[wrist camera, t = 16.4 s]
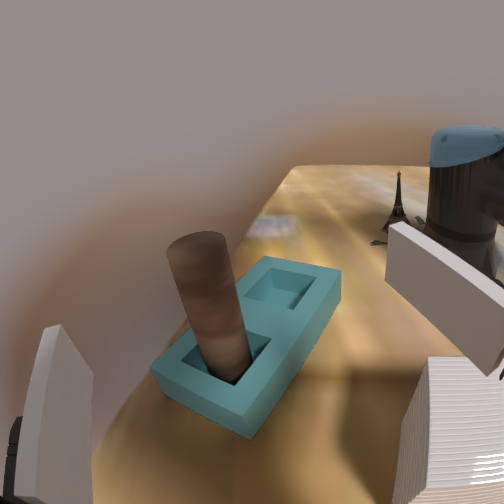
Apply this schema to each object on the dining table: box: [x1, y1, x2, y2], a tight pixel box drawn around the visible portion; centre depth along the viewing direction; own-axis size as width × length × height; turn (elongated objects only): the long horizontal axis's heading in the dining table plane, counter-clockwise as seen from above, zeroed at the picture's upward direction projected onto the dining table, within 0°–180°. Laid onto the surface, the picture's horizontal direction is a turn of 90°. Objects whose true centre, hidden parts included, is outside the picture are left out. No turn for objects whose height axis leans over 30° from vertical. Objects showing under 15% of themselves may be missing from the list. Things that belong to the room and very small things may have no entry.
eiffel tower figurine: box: [370, 172, 426, 246], centre depth 56 cm, size 15×10×13 cm
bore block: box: [149, 256, 341, 440], centre depth 38 cm, size 24×12×5 cm, turn 148°
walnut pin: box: [166, 231, 254, 386], centre depth 30 cm, size 5×5×16 cm
